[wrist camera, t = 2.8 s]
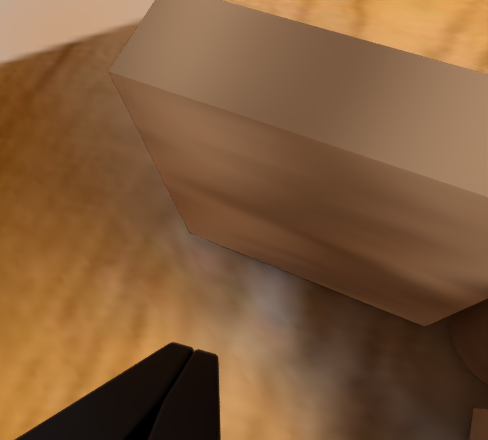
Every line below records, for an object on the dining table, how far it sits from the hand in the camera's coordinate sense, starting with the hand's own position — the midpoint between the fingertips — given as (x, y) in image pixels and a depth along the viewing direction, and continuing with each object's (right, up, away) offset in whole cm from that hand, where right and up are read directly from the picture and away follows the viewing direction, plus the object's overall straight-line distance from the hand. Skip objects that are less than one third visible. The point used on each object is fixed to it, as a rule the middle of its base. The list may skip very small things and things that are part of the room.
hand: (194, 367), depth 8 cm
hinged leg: (+4, +1, +9) cm, 9 cm away
